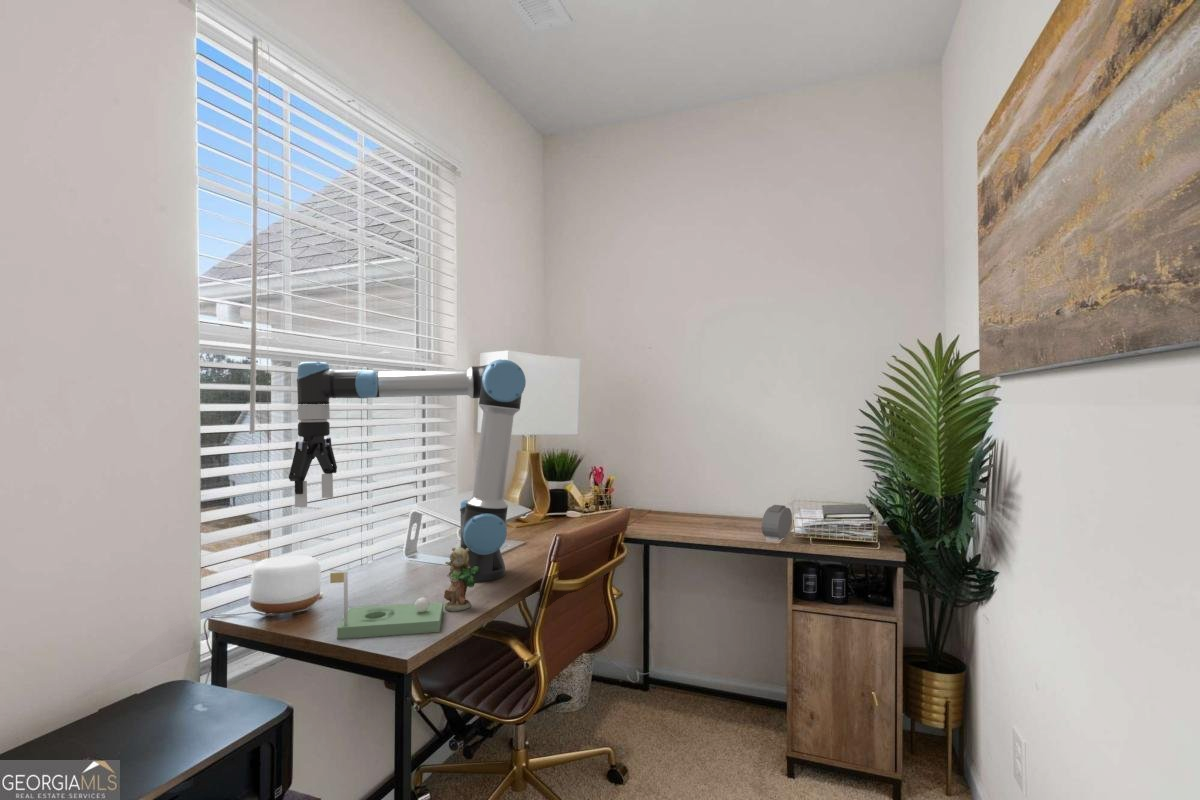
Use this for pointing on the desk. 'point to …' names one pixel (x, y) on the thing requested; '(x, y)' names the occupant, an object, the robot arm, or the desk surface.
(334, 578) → the flag
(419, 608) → the ball
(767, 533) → the alarm clock
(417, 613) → the green
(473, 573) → the figurine
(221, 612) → the desk surface
